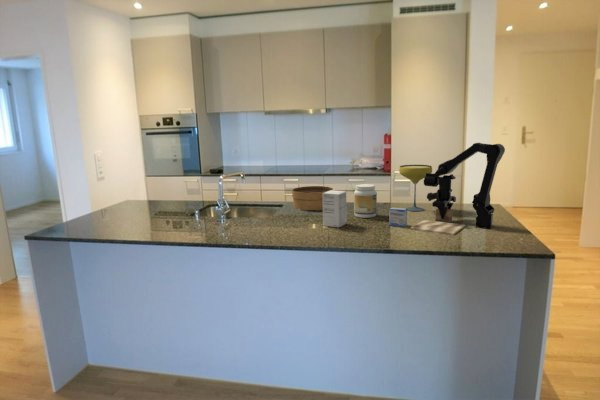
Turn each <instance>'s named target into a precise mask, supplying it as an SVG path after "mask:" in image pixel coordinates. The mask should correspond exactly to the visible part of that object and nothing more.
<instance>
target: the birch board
mask: <svg viewBox="0 0 600 400" xmlns="http://www.w3.org/2000/svg"><path fill="white" fill-rule="evenodd" d="M465 226H466V224H460V223H453V222H441V221H436V220H427V219H424V220H422V221H420V222H418V223H416V224H415V225H413V226H411V227H410V230H412V231H419V232H421V231H422V232H427V233H435V234H444V235H450V236H454V235H455V234H456V233H458V232H460V231H461V230H462V229H464V227H465Z"/></svg>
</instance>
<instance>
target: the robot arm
mask: <svg viewBox="0 0 600 400" xmlns="http://www.w3.org/2000/svg"><path fill="white" fill-rule="evenodd" d="M505 152H506V148H505V146H504V145H503V144H502V143H495V144H489V143H482V142H474V143H472V145H471V146H469V147H468V148H466V149H465V150H463V151H462V152H460V153H459V154H457V155H456V156H454V157H453V158H451V159H448V160H446V161H443V162H442V163H440V164H439V165H438V167H437V170H436V171H435V172H434V173H433V172H432V173H426V176H425V178H423V185H424V186H425V187H438V189H437V190H436V192H427V195H426V199H427V200H428V202H431V201H432V204H431V205H432V206H431V207H434V208H436V209H439V212H440V215H441V219H444V217H445V214H446V212H447V209H452V207H453V205H454V203H456V202H457V197H456V196H455V195H452V192H453V189H452V180H455V179H457V177H456V176H455V175H454V174H453V173H452V172H454V171H455V170H456V169H457V168H458V166H459V165H461V164H462V163H464V161H466V160H468V159H469V158H471V157H472V156H474V155H475V154H477V153H481V154H485V155H486V167H485V171H484V174H483V178H482V181H481V185H480V189H479V192H478V193H475V194H473V200H472V202H471V204H472V208H473V209H474V211H475V213H476V215H477V216H476V217H475V228H483V229H488V230H490V229H491V228H492V227H494V224H493V222H494V221H493V218H494V214H493V213H494V212H495V208H494V207H493V205H491V189H492V186H493V183H494V182H493V181H494V178H495V176H496V171H497V167H498V165H499V163H500V161H501V159H502V158H503V155H504V154H505Z"/></svg>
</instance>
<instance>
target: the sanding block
mask: <svg viewBox="0 0 600 400" xmlns="http://www.w3.org/2000/svg"><path fill="white" fill-rule="evenodd" d="M435 221H437V222H445V223H452V222H453V209H452V208H451V209H447V212H446V214H445V217H444V219H441V215H440V212H439V209H438V208H436V209H435Z"/></svg>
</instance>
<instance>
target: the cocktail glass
mask: <svg viewBox="0 0 600 400" xmlns="http://www.w3.org/2000/svg"><path fill="white" fill-rule="evenodd" d="M398 170H399V171H398V172H399V174H400V175H401V176H402V177H404V178H406V179H408V180H409V181H410V182H412V183H413V184H414V196H413V197H414V199H413V206H410V207H405V208H406V209H407V212H408V211H409V212H415V213H417V212H422V211H425V208H423V207H419V206H417V204H416V203H417V202H416V197H417V195H416V194H417V191H416V189H417V187H416V186H417V184H418V183H419V182H420V181H421V180H424V178H425V176H426V173H433V166H432V165H428V164H404V165H400V166H399V168H398Z"/></svg>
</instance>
